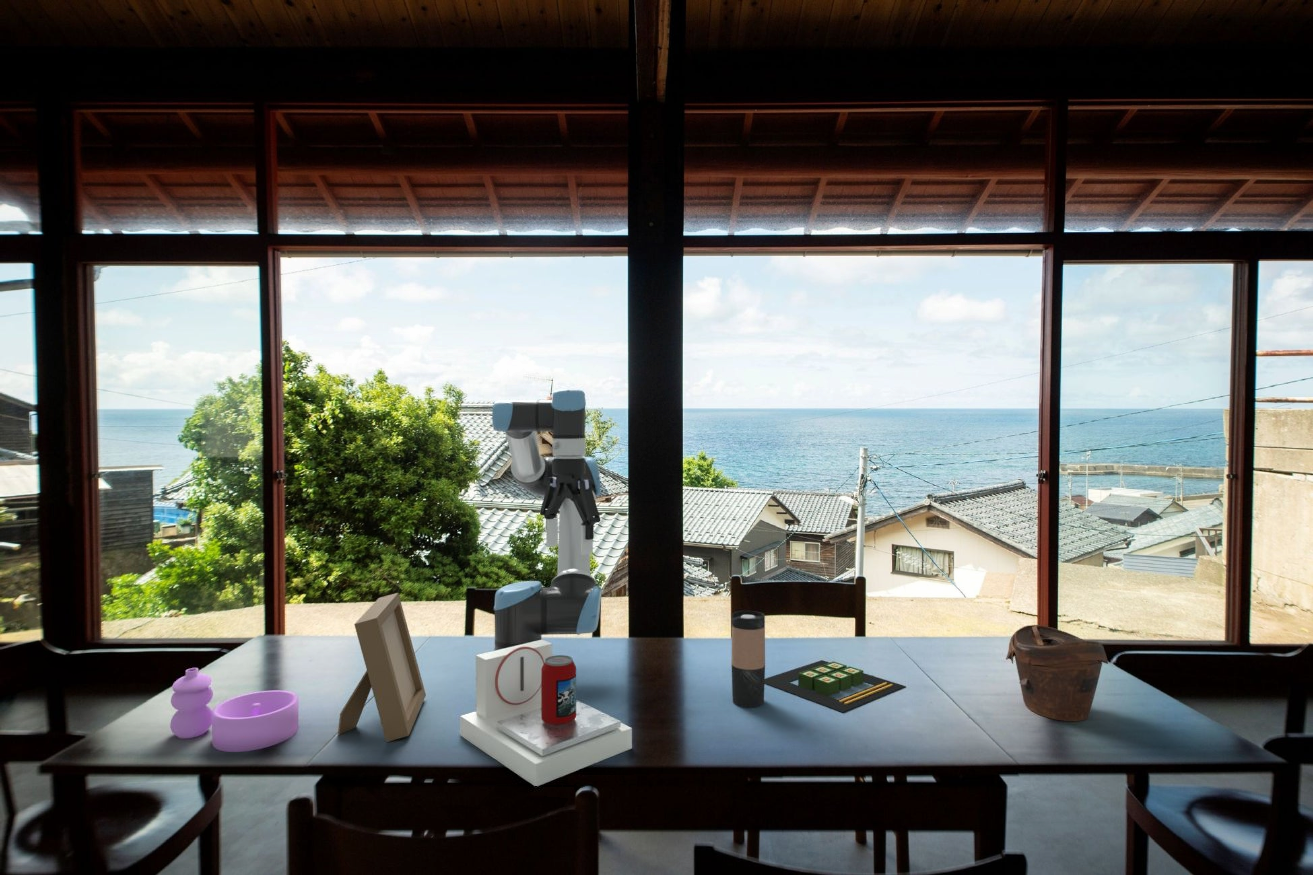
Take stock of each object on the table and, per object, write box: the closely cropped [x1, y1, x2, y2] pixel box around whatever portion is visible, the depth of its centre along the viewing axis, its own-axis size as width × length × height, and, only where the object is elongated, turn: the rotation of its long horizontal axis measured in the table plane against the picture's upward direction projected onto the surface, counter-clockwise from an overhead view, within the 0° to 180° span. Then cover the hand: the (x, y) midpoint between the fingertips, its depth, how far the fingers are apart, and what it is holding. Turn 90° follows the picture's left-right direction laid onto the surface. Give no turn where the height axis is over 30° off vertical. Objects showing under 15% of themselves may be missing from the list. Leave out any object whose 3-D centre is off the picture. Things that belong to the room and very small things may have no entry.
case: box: [1005, 624, 1109, 722], centre depth 157 cm, size 18×20×18 cm
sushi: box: [765, 659, 907, 714], centre depth 172 cm, size 25×25×4 cm
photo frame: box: [337, 592, 427, 743], centre depth 151 cm, size 15×22×25 cm
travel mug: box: [731, 610, 766, 709], centre depth 161 cm, size 8×8×20 cm
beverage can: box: [541, 654, 577, 726], centre depth 137 cm, size 7×7×12 cm
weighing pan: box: [496, 699, 622, 756], centre depth 137 cm, size 16×18×1 cm
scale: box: [459, 639, 633, 787], centre depth 141 cm, size 28×22×17 cm
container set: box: [169, 667, 299, 753], centre depth 144 cm, size 25×15×13 cm, turn 87°
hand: (568, 550), depth 161 cm, fingers open, 13 cm apart
